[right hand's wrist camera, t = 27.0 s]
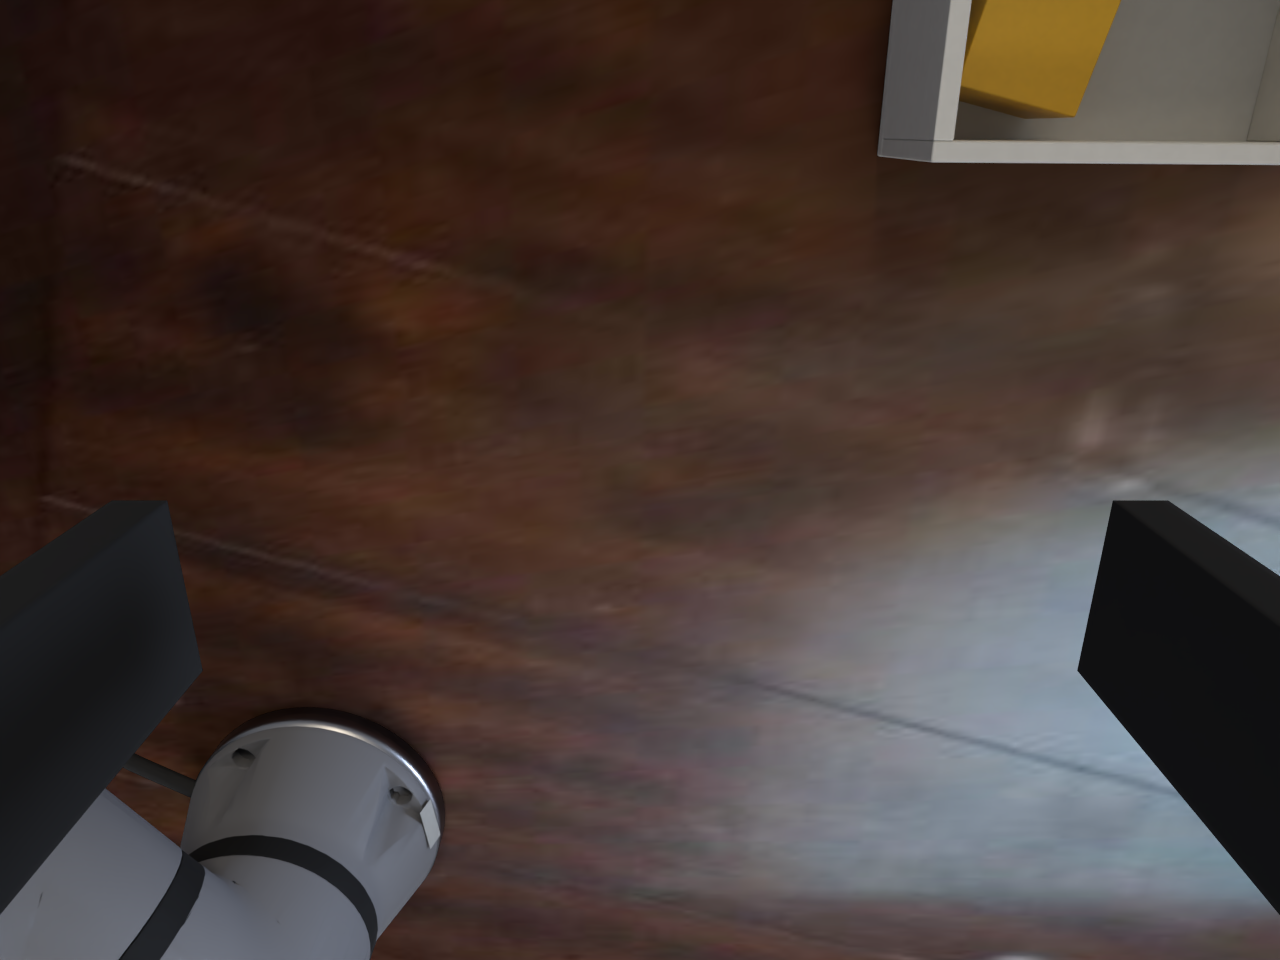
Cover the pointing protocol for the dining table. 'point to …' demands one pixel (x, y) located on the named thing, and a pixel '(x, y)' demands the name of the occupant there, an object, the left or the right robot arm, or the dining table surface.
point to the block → (1033, 54)
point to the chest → (1098, 90)
